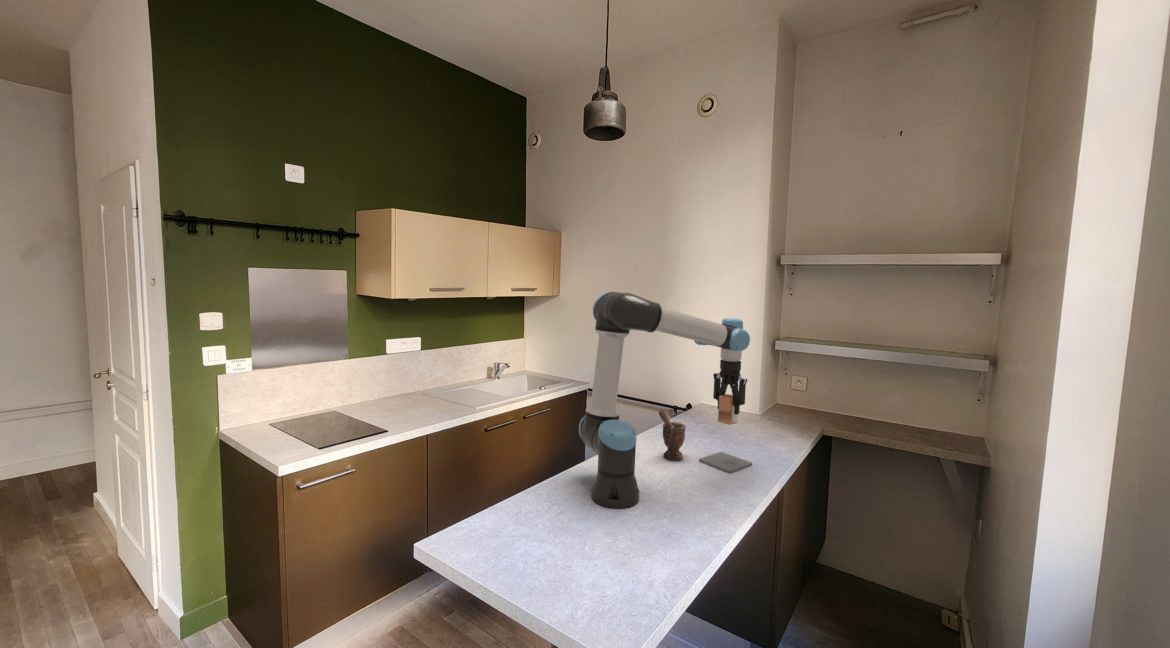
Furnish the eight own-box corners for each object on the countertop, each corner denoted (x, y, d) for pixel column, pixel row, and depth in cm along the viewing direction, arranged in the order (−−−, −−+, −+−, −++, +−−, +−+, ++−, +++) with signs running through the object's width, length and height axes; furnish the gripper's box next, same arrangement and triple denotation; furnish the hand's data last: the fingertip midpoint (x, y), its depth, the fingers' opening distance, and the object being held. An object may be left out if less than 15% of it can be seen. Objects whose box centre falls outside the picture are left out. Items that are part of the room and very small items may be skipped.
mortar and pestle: (673, 465, 176) (676, 413, 174) (653, 459, 181) (655, 409, 179) (687, 457, 185) (690, 407, 183) (668, 452, 190) (670, 403, 188)
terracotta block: (729, 424, 175) (730, 398, 174) (718, 421, 179) (719, 395, 178) (737, 422, 178) (738, 396, 177) (726, 419, 182) (727, 394, 181)
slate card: (729, 473, 170) (729, 471, 170) (698, 461, 181) (698, 458, 181) (752, 465, 178) (752, 462, 178) (721, 454, 189) (721, 451, 189)
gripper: (758, 362, 171) (754, 424, 173) (717, 355, 185) (714, 413, 187) (746, 364, 166) (742, 428, 169) (705, 357, 181) (702, 416, 183)
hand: (727, 420), depth 178 cm, fingers closed on terracotta block, 5 cm apart
